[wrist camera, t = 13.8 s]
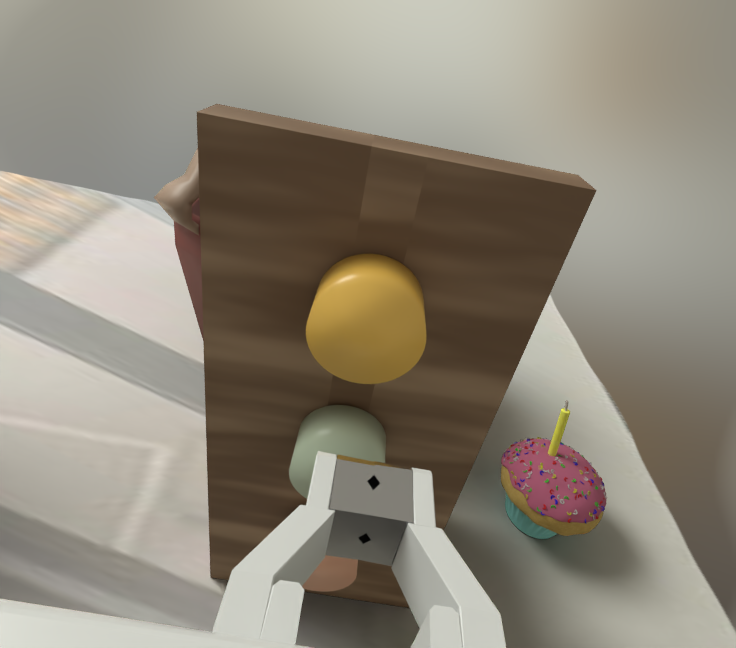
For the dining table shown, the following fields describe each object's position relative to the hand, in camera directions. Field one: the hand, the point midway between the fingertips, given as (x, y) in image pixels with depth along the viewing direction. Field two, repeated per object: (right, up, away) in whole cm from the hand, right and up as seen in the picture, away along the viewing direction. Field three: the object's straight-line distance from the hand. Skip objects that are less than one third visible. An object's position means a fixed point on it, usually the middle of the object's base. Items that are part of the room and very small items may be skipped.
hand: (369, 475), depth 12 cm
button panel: (-4, -12, +24) cm, 27 cm away
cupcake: (+15, -13, +29) cm, 35 cm away
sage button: (-2, -3, +13) cm, 13 cm away
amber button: (0, +3, +9) cm, 9 cm away
